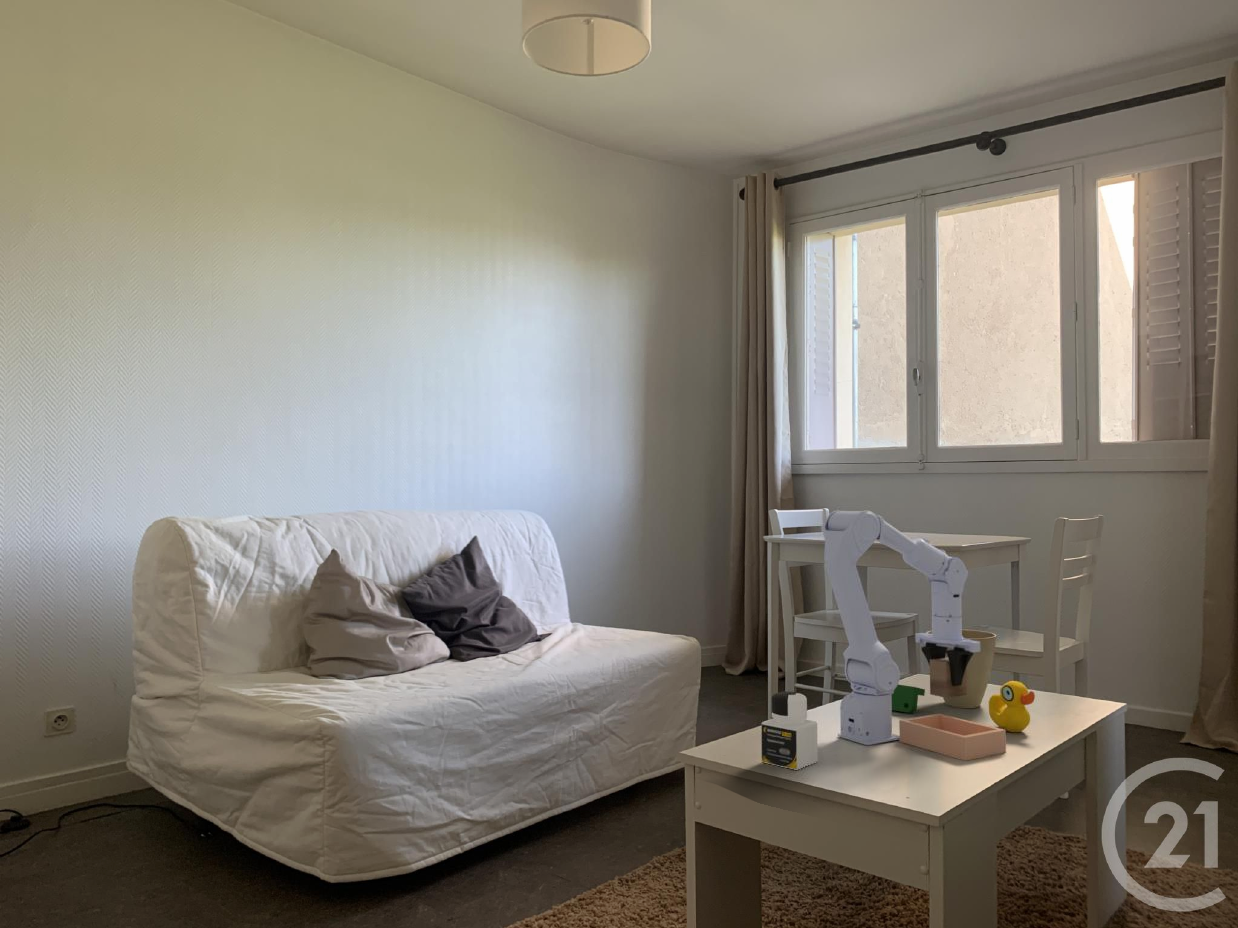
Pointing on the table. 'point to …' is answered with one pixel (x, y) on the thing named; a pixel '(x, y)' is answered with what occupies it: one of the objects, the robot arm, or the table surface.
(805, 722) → the medicine bottle
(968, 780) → the table surface
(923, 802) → the table surface
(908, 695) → the clamp
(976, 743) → the pink rectangular tray
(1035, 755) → the table surface
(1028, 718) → the duckling
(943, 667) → the tan wooden block
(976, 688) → the plant pot
